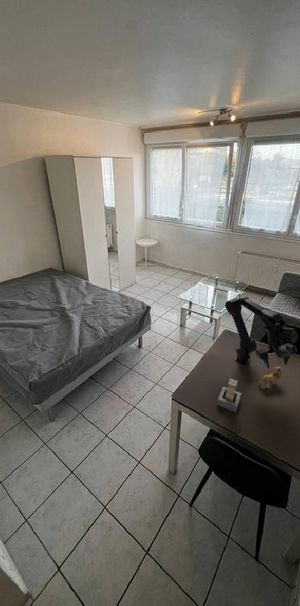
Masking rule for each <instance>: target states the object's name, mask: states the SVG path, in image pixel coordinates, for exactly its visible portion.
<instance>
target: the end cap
mask: <svg viewBox="0 0 300 606" xmlns="http://www.w3.org/2000/svg"><path fill="white" fill-rule="evenodd" d="M226 392H227V387H226V386H222V388H221V391H220V393H219V396H218V398H217V403H216V405H217V406H218V407H222V408H224V409H225V410H229V411H231V412H234V413H236V412H237V409H238V406H239V402H240V400H241V395H242V392H240V391H237V390H235V394H234V399H233V402H230V401H228V400H225V397H226Z"/></svg>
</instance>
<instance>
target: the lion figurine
mask: <svg viewBox="0 0 300 606" xmlns="http://www.w3.org/2000/svg"><path fill="white" fill-rule="evenodd" d="M282 373H283V370H282V367H280V366H275V367H273V371H272V373H271V374H264V375H263V376H262V377H261V379H260V380H259V381H258V383H257V385H258V389H261V388H262V387H261V386H262V383H263V382H264V387H265V388H267V389H269V386H268V384H269V382H273V384H274V385H277V382H278V380H279V379H281V376H282Z"/></svg>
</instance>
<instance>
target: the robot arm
mask: <svg viewBox="0 0 300 606" xmlns="http://www.w3.org/2000/svg"><path fill="white" fill-rule="evenodd" d="M224 306H225V309H226V311H227V312H228V314H230V316H232V319H233V321H234V322H233V323H234V325H235V327H236V332H237V333H238V336H239V340H240V341H239V347H238V348H236V349H235V351H236V352H235V353H236V355H237V356H236V358H235V359H234V360H235V361H236V362H237V363H239V364H240V365H241V366H246V365H247V364H249V363H250V362H251V354H252V353H255V356H256V357H258V359H259V360H262V361H263V363H264V364H265V367H266V368H267V369H270V364H269V359H270V358H269V355H273V354H275V355H276V356H277V357H278V359H283V363H284V365H285V366H286V365H287V364H288V362H289V359H290V358H291V356H292V355H294V354H295V353H297V352H298V351H297V347H296V345H294V344H295V343H296V342H297V340H298V339H299V334H298V333H297V331H296V330H295V328H293V327H288V325H287V323H286V322H285V320H284V319H283V317H282V315H281V314H280V313H279V312H276V311H274V310H270V309H267V308H264V306H261V305H260V304H259V303H257V302H255V301H254V300H251V299H250V298H249V297H248V296H243V297H240V298H237V297H235V298H231V299H230V300H227V301H226V302H225V305H224ZM243 307H244V308H246V309H247V310H248V311H250V312H252V313H253V314H254V315H256V316H258V317H259V318H260V319H261V322H262V323H264V325H265V326H264V327H263V330H267V336H268V337H267V339H266V340H267V342H268V346H267V348H268V350H265V349H264V348H260V349H257V348H258V347H257V346H258V345H257V343H256V339H253V338H251V337H250V335H249V332H248V329H247V326H246V323H245V322H244V318H243V315H242V309H243ZM284 342H287V343H284Z"/></svg>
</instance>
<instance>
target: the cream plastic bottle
mask: <svg viewBox="0 0 300 606" xmlns="http://www.w3.org/2000/svg"><path fill="white" fill-rule="evenodd" d="M238 381H239V380H235V379H233V378H229V381H228V383H227V387H226V388H227V392H226V397H225V400H228V401H230V402H233V399H234V394H235V391H237V385H238Z"/></svg>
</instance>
